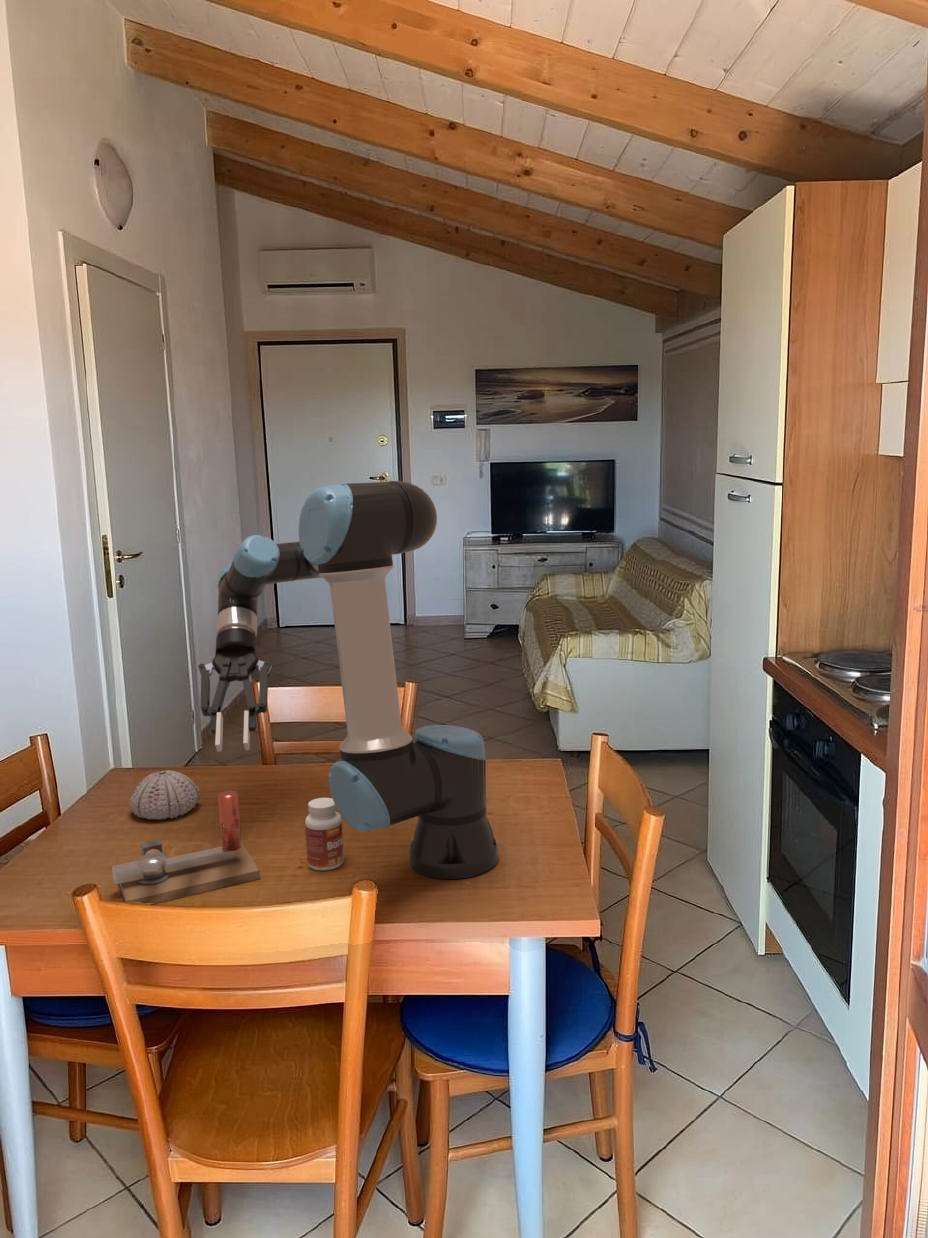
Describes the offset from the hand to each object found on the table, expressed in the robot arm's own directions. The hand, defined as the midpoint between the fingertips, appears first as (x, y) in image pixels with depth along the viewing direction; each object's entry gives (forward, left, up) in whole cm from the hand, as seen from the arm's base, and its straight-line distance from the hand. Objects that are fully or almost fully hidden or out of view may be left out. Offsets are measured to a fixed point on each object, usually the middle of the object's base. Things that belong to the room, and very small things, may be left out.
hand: (232, 747), depth 166 cm
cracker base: (-5, +13, -18) cm, 23 cm away
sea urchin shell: (+25, +2, -19) cm, 31 cm away
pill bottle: (-18, -6, -18) cm, 27 cm away
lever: (-6, +14, -16) cm, 22 cm away
